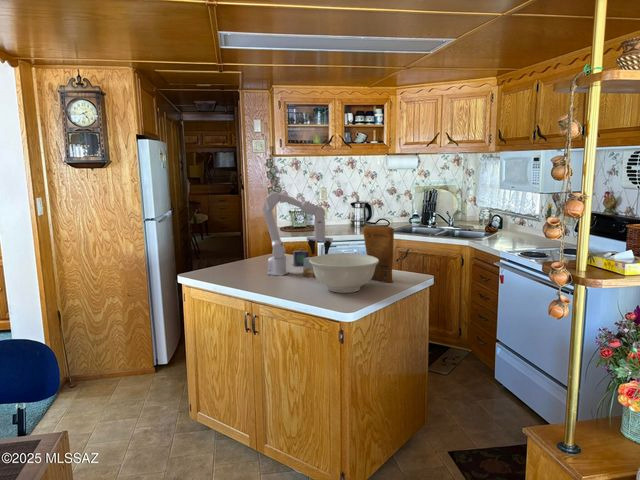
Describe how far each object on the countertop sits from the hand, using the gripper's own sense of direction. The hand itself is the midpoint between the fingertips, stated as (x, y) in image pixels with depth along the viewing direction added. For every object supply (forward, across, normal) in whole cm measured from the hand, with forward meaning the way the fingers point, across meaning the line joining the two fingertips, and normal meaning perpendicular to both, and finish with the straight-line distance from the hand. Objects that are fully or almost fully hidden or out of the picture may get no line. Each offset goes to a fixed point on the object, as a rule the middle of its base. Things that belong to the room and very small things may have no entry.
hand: (319, 254), depth 255 cm
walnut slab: (+11, -2, -7) cm, 13 cm away
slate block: (+6, -2, -7) cm, 10 cm away
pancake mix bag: (+11, +34, -2) cm, 36 cm away
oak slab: (+8, -2, -7) cm, 11 cm away
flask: (+11, -18, +13) cm, 25 cm away
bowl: (+11, +24, -25) cm, 36 cm away
